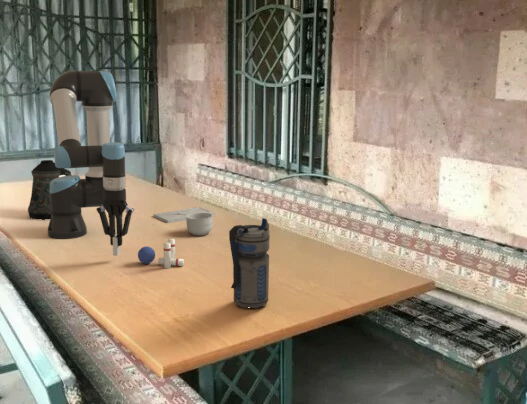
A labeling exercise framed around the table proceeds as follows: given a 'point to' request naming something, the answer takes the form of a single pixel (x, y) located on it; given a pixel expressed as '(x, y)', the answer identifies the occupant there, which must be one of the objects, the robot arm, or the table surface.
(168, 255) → the pin
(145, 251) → the ball
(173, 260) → the front pin
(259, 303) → the beverage bottle
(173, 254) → the pin
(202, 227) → the teacup
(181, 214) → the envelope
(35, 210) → the beer stein
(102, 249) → the table surface
